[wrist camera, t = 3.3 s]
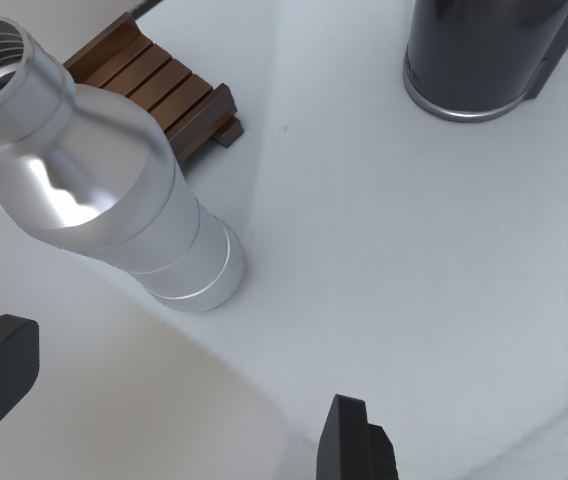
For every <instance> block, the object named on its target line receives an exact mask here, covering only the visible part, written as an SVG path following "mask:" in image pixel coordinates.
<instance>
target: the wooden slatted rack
mask: <svg viewBox="0 0 568 480" xmlns="http://www.w3.org/2000/svg"><path fill="white" fill-rule="evenodd" d="M62 65H63V66H64V67H65V68H66V69H67V71H68V72H69V73H70V75H71V76H72V78H73V80H74V83H76V84H83V85H89V86H92V87H96V88H100V89H104V90H107V91H111V92H114V93H118V94H121V95H122V96H124V97H126V98H128V99H130V100H131V101H133V102H134V103H136V104H137V105H139V106H140V107H141V108H143V109H144V110H146V111H147V112H148V113H149V114H150V115H151V116H152V117H153V118H155V120H156V121H157V123H158V124H159V126H160V127H161V129H162V131H163V133H164V134H165V136H166V138H167V140H168V141H169V143H170V146H171V148H172V151H173V153H174V155H175V158H176V160H177V162H178V165H180V164H181V163H182V162H184V161H185V160H186V159H187V158H188V157H189V156H190V155H191V154H192V153H193V152H194V151H195V150H197V149H198V148H199V147H200V146H201V145H202V144H203V143H204V142H205V141H206V140H207V139H208V138H209V137H211V136H212V137H213V138H215V139H216V140H217V141H218V142H220V143H221V144H222V145H223V146H224V147H226V148H227V147H228V146H229V145H230V144H231V143H232V142H234V141H235V140H236V139H237V138H238V137H239V136H240V135H241V134H242V133H243V132H244V131H243V128H242V126H241V123H240V121H239V120H238V119H237V118H236V117H234V116H233V115H234V114H235V113H236V112H237V108H236V106H235V102H234V99H233V97H232V94H231V92H230V89H229V87H228V86H227V85H225V84H224V83H222V84H221V85H219V86H218V87H217V88H216V89H215V90H214V89H213V87H212V86H211V85H210V84H208V83H207V82H206V81H204V80H203V79H202V78H200V77H199V76H198V75H196V74H193V73H192V71H191V70H190V69H188V68H187V67H186V66H184V65H183V64H182V63H180V62H179V61H178V60H176V59H175V58H174V59H173V58H172V56H171V55H170V54H169V53H167V52H166V51H165V50H163V49H162V48H161V47H159V46H158V45H157V44H154V43H153V42H152V41H151V40H150V39H149V38H147V37H146V36H145V35H143V34H142V33H141V31H140V30H139V28H138V26H137V24H136V23H135V21H134V19H133V17H132V16H131V15H130V14H129V13H128V12H125V13H124V14H123V15H122V16H120V17H119V18H118V19H117V20H116V21H115V22H113V23H112V24H111V25H110V26H108V27H107V28H106V29H105V30H103V31H102V32H101V33H100V34H99V35H98V36H96V37H95V38H94V39H93V40H91V41H90V42H89V43H88V44H87V45H85V46H84V47H83V48H82V49H81V50H79V51H78V52H77V53H76V54H74V55H73V56H72V57H71V58H70V59H68V60H67V61H66V62H65V63H63V64H62Z"/></svg>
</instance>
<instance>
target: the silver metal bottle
mask: <svg viewBox="0 0 568 480" xmlns="http://www.w3.org/2000/svg"><path fill="white" fill-rule="evenodd" d="M0 205H1V206H2V207H3V209H4V210H5V211H6V213H7V214H8V215H9V216H10V217H11V219H12V220H13V221H14V222H15V223H16V224H17V225H18V227H19V228H20V229H22V230H23V231H24V232H26V233H27V234H28V235H30V236H31V237H33V238H36V239H38V240H40V241H43V242H45V243H48V244H50V245H53V246H55V247H57V248H60V249H64V250H67V251H71V252H74V253H77V254H81V255H84V256H87V257H91V258H94V259H98V260H101V261H103V262H106V263H108V264H110V265H112V266H114V267H117V268H119V269H121V270H123V271H125V272H127V273H128V274H130V275H131V276H132V277H134V278H135V279H136V280H137V281H139V282H140V283H141V284H142V285H143V287H144V288H145V289H146V290H147V291H148V293H149V294H150V295H151V296H153V297H154V298H155V299H156V300H157V301H158V302H160V303H161V304H162V305H164V306H166V307H168V308H170V309H173V310H178V311H185V312H201V311H206V310H210V309H212V308H215V307H217V306H219V305H220V304H222V303H223V302H225V301H226V300H227V299H228V298H229V297H230V296H232V294H233V293H234V292H235V290H236V289H237V287H238V286H239V284H240V282H241V279H242V276H243V272H244V258H243V252H242V247H241V244H240V242H239V239H238V238H237V236H236V235H235V233H234V232H233V231H232V230H231V229H230V228H229V227H228V226H227V225H226V224H225V223H223V222H222V221H221V220H220V219H218V218H216V217H215V216H213V215H211V214H210V213H209V212H208V211H207V210H206V209H205V208H204V207H203V206H202V205H201V204H200V203H199V202H198V200H197V199H196V197H195V196H194V194H193V192H192V191H191V189H190V188H189V186H188V184H187V183H186V181H185V179H184V177H183V174H182V172H181V170H180V167H179V165H178V162H177V160H176V158H175V155H174V153H173V151H172V148H171V146H170V143H169V141H168V140H167V138H166V136H165V134H164V133H163V131H162V129H161V127H160V126H159V124H158V123H157V121H156V120H155V118H153V117H152V116H151V115H150V114H149V113H148V112H147V111H146V110H144V109H143V108H141V107H140V106H139V105H137V104H136V103H134V102H133V101H131V100H130V99H128V98H126V97H124V96H122V95H121V94H118V93H114V92H111V91H107V90H104V89H100V88H96V87H92V86H89V85H83V84H76V83H74V80H73V78H72V76H71V75H70V73H69V72H68V71H67V69H66V68H65V67H64V66H63V65H62V64H61V63H60V62H59V61H58V60H57V59H56V58H55V57H53V56H52V55H50V54H48V53H47V52H46V51H45V50H44V49H43V48H42V47H41V46H40V45H39V44H38V42H37V41H36V40H35V39H34V38H33V37H32V36H31V35H30V33H28V32H27V31H26V30H25V29H24V28H23V27H21V26H20V25H19V24H18V23H17V22H15V21H13V20H11V19H9V18H5V17H1V16H0Z"/></svg>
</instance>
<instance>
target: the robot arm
mask: <svg viewBox="0 0 568 480" xmlns="http://www.w3.org/2000/svg"><path fill="white" fill-rule="evenodd" d="M408 42H409V43H408V45H407V51H406V54H405V59H404V65H403V80H404V84H405V87H406V89H407V91H408V93H409V94H410V96H411V97H412V99H413V100H414V101H415V102H416V103H417V104H418V105H419V106H421V107H422V108H423V109H425V110H426V111H428V112H430V113H431V114H433V115H436V116H438V117H441V118H444V119H447V120H451V121H457V122H479V121H485V120H490V119H493V118H496V117H499V116H501V115H503V114H505V113H507V112H509V111H510V110H512V109H513V108H514V107H516V106H517V105H518V104H519V103H520V102H521V101H522V100H524V99H530V98H536V97H537V96H538V95H539V93H540V91H541V90H542V88H543V87H544V85H545V83H546V82H547V80H548V79H549V77H550V75H551V74H552V72H553V71H554V69H555V67H556V66H557V64H558V63H559V61H560V59H561V58H562V56H563V55H564V53H565V51H566V50H567V48H568V0H416V1H415V7H414V13H413V19H412V25H411V31H410V37H409V41H408ZM38 372H39V326H38V323H37V322H36V321H34V320H30V319H26V318H22V317H17V316H13V315H9V314H5V315H2V316H0V421H1V420H2V419H3V418H4V417H5V416H6V414H7V413H8V412H9V411H10V410H11V409H12V408H13V407H14V406H15V405H16V404H17V403H18V402H19V401H20V400H21V399H22V398H23V397H24V396H25V395H26V394H27V393H28V392H29V390H30V389H31V388H32V386H33V385H34V383H35V381H36V378H37V376H38ZM316 480H399V478H398V472H397V469H396V461H395V456H394V450H393V445H392V443H391V442H390V440H389V438H388V437H387V435H386V433H385V432H384V430H383V428H382V427H381V426H377V425H373V424H369V423H368V421H367V413H366V405H365V402H364V401H363V400H359V399H355V398H351V397H347V396H343V395H339V394H336V395H335V396H334V399H333V402H332V405H331V408H330V411H329V414H328V417H327V420H326V423H325V426H324V429H323V432H322V435H321V438H320V443H319V448H318V454H317V471H316Z"/></svg>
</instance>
